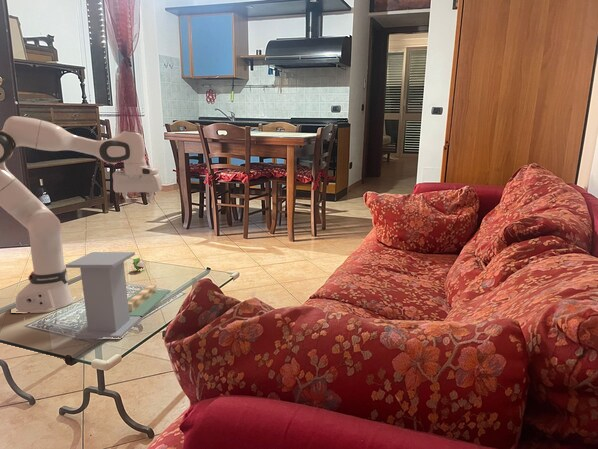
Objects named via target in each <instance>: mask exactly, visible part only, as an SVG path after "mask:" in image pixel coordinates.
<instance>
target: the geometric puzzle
mask: <svg viewBox="0 0 598 449" xmlns="http://www.w3.org/2000/svg"><path fill="white" fill-rule="evenodd" d="M132 260H133V261H132V264H131V267H130V268H131V269H132V270H134V269H135V268H136V269H137V270H136V272H137V271H138V270H139V269H141V268H142V269H143V268H145V264H147V262H146V261H144V260H143V259H141V257H138V258H135V259H132ZM132 265H133V266H132ZM133 267H134V268H133Z"/></svg>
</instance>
